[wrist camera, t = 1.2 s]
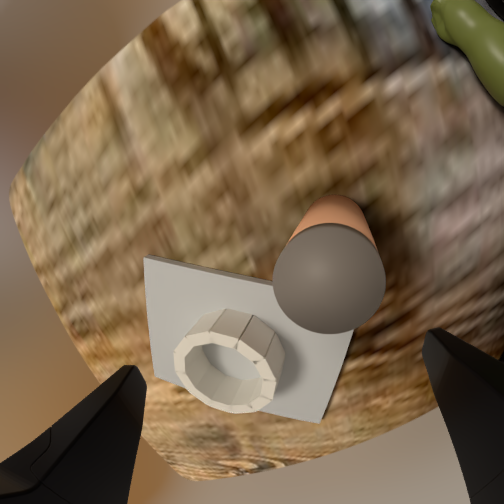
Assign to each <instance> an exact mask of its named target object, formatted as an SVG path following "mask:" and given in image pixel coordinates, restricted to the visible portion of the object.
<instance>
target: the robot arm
mask: <svg viewBox="0 0 504 504" xmlns="http://www.w3.org/2000/svg"><path fill="white" fill-rule="evenodd" d="M422 356H423V359H424V362H425V366H426V369H427V372H428V375H429V379H430V382H431V385H432V389H433V392H434V395H435V398H436V401H437V403H438V406H439V408H440V411H441V413H442V416H443V418H444V421H445V423H446V426H447V429H448V432H449V434H450V437H451V440H452V443H453V446H454V448H455V451H456V454H457V457H458V460H459V464H460V467H461V470H462V473H463V476H464V480H465V483H466V487H467V491H468V494H469V498H470V502H471V504H504V352H503V354H502V356H501V358H500V360H497V359H495V358H494V357H492V356H490V355H488V354H487V353H485V352H483V351H481V350H479V349H478V348H476V347H474V346H472V345H471V344H469V343H467V342H465V341H463V340H462V339H460V338H458V337H456V336H454V335H453V334H451V333H449V332H447V331H445V330H444V329H442V328H439V327H437V328H433V329H430V330H428V331H427V333H426V336H425V340H424V344H423V348H422ZM146 391H147V385H146V382H145V380H144V378H143V376H142V374H141V373H140V371H139V369H138V367H137V366H135V365H124V366H122V367H121V368H120V369H119V370H118V371H116V372H115V373H114V374H113V375H112V376H110V377H109V378H108V379H107V380H106V381H105V382H103V383H102V384H101V385H100V386H99V387H98V388H96V389H95V390H94V391H93V392H92V393H90V394H89V395H88V396H87V397H85V398H84V399H83V400H82V401H81V402H79V403H78V404H77V405H76V406H75V407H74V408H72V409H71V410H70V411H69V412H67V413H66V414H65V415H64V416H63V417H62V418H60V419H59V420H58V421H57V422H56V423H54V424H53V425H52V427H50V428H48V429H47V430H46V431H45V432H43V433H42V434H41V435H40V436H38V437H37V438H36V439H35V440H33V441H32V442H31V443H29V444H28V445H26V446H25V447H24V448H22V449H21V450H19V451H18V452H16V453H15V454H13V455H12V456H10V457H9V458H7V459H6V460H4V461H3V462H1V463H0V504H127V502H128V496H129V490H130V484H131V479H132V474H133V469H134V464H135V459H136V454H137V450H138V445H139V440H140V436H141V431H142V425H143V417H144V408H145V399H146Z"/></svg>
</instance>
